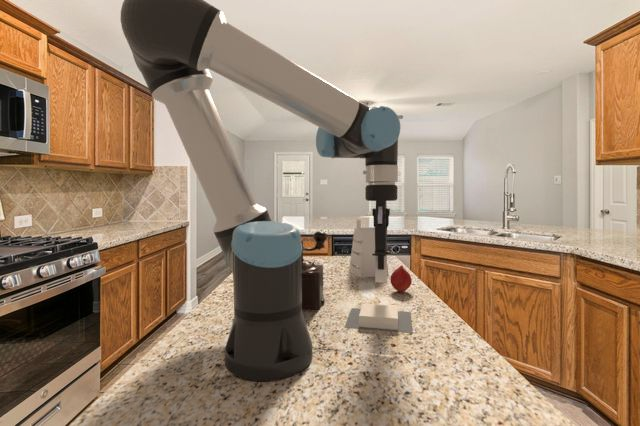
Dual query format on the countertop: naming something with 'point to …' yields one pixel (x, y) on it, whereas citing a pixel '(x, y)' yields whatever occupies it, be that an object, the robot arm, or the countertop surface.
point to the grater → (363, 251)
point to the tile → (379, 316)
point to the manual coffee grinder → (313, 277)
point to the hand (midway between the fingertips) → (381, 281)
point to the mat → (403, 326)
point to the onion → (401, 279)
